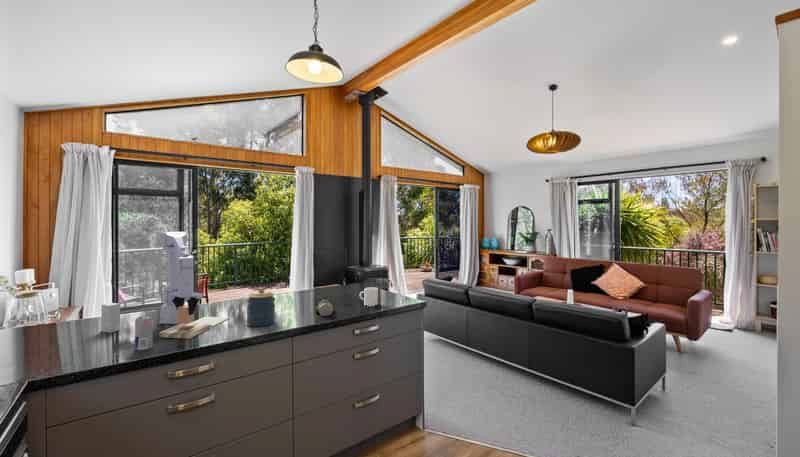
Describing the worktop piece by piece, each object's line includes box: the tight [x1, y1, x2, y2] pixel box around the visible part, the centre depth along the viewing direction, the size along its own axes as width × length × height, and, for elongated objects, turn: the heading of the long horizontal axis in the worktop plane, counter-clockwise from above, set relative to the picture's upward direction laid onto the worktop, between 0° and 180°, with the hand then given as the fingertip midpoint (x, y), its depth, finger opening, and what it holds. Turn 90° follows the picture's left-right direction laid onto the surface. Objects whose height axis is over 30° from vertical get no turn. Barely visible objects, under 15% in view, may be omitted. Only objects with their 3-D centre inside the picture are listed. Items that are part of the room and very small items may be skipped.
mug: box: [358, 286, 379, 307], centre depth 204 cm, size 8×12×10 cm
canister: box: [246, 287, 276, 328], centre depth 165 cm, size 13×13×18 cm
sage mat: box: [191, 316, 230, 327], centre depth 167 cm, size 13×13×1 cm
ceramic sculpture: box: [313, 298, 335, 317], centre depth 185 cm, size 11×9×15 cm
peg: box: [177, 304, 195, 324], centre depth 150 cm, size 4×4×7 cm
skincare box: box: [100, 302, 121, 333], centre depth 151 cm, size 6×4×12 cm
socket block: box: [158, 322, 212, 340], centre depth 151 cm, size 14×14×2 cm
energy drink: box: [134, 315, 153, 351], centre depth 132 cm, size 5×5×12 cm
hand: (185, 314), depth 150 cm, fingers closed on peg, 4 cm apart
